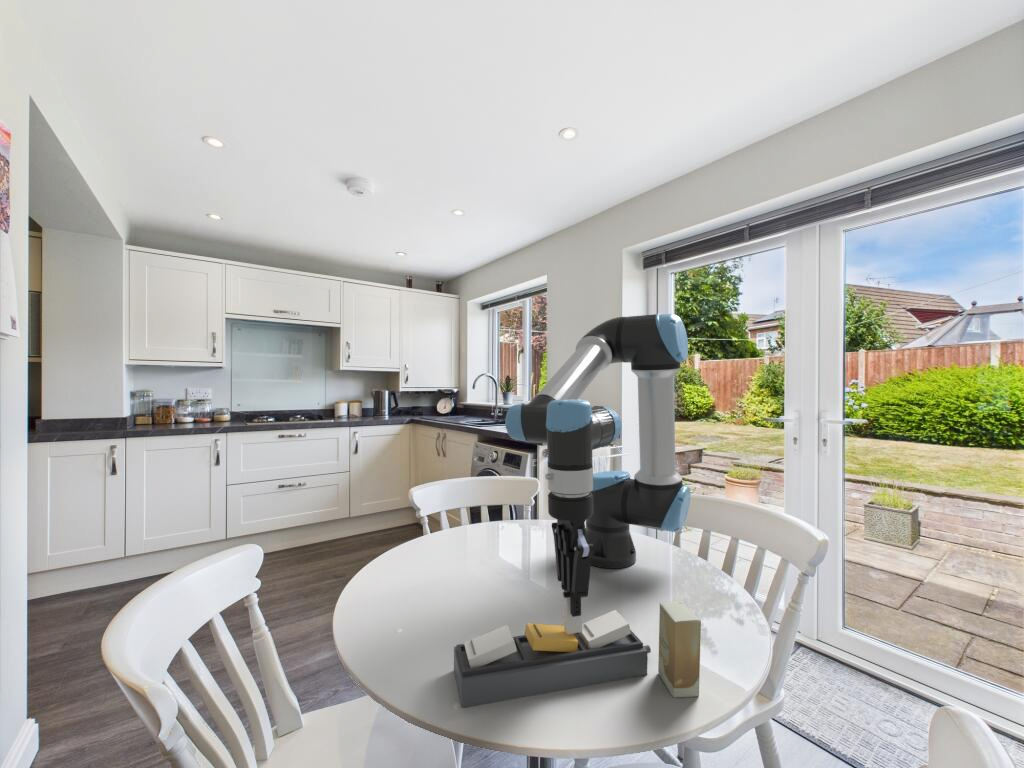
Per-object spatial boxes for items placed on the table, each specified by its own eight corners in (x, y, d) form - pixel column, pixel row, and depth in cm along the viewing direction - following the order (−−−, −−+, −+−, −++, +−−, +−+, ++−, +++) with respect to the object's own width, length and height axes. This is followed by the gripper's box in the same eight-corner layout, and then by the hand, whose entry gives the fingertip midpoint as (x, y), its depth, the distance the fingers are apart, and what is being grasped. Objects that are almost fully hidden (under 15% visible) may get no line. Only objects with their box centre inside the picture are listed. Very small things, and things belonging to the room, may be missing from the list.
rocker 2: (617, 618, 82) (615, 608, 82) (631, 633, 78) (628, 622, 78) (579, 635, 81) (576, 624, 81) (591, 651, 76) (588, 640, 76)
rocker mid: (565, 636, 80) (567, 624, 80) (576, 652, 75) (578, 640, 75) (524, 633, 78) (526, 622, 78) (532, 650, 74) (535, 637, 74)
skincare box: (657, 672, 77) (657, 600, 77) (682, 671, 77) (682, 599, 77) (674, 699, 70) (674, 620, 70) (701, 698, 71) (701, 619, 71)
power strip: (635, 641, 86) (636, 616, 86) (663, 671, 77) (663, 643, 77) (453, 670, 77) (453, 642, 77) (461, 707, 69) (461, 676, 69)
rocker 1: (509, 634, 78) (506, 623, 77) (517, 651, 73) (514, 639, 73) (466, 652, 76) (463, 641, 76) (471, 670, 71) (467, 658, 71)
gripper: (537, 484, 82) (539, 614, 83) (563, 504, 70) (566, 657, 70) (576, 481, 84) (578, 608, 85) (608, 500, 72) (611, 649, 72)
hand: (572, 630), depth 78 cm, fingers closed
